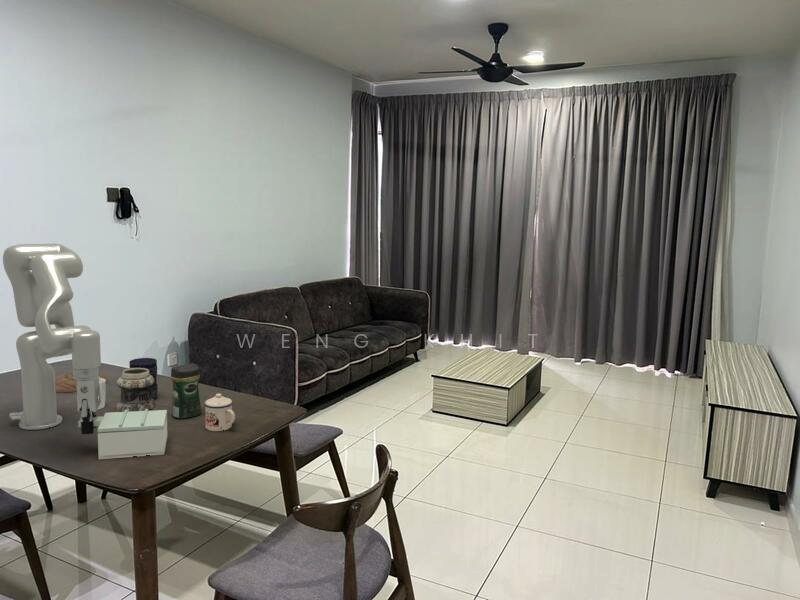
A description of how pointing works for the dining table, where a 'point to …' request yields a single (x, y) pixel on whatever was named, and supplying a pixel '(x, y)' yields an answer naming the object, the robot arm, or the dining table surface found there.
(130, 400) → the apothecary jar
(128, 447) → the tub
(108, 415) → the lid
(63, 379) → the trivet
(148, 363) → the storage jar
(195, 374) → the coffee jar
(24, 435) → the dining table surface
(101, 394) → the white cup
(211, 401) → the teacup with lid
